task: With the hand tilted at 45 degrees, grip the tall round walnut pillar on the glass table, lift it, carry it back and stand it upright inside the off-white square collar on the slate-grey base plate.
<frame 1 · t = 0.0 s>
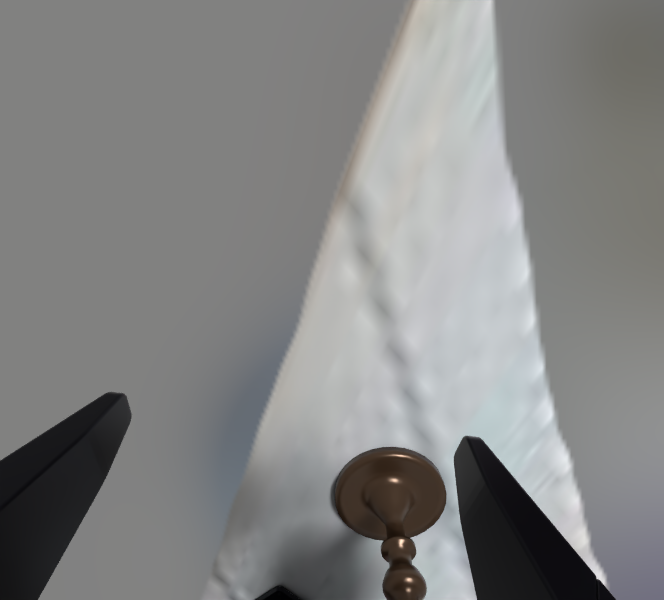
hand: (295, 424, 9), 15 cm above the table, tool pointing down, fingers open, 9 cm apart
candlestick: (388, 489, 30), on the table
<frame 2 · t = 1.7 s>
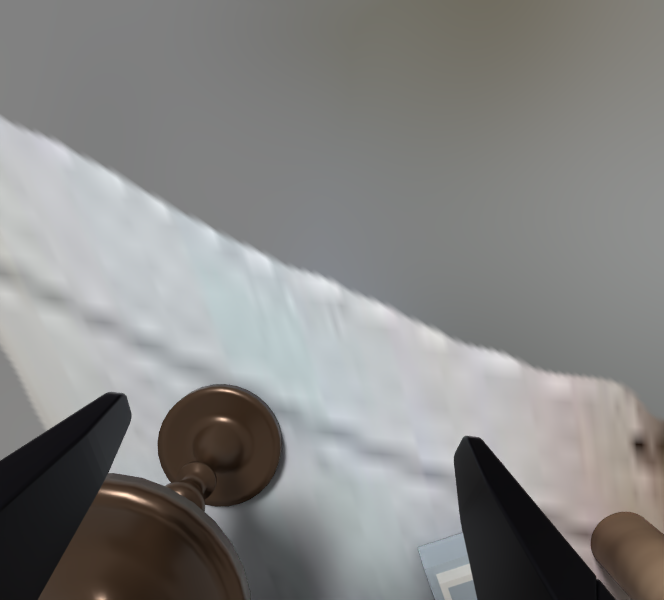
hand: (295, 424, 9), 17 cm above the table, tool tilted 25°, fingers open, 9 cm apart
walnut pillar: (622, 540, 28), on the table
candlestick: (223, 441, 27), on the table
base plate: (495, 581, 29), on the table
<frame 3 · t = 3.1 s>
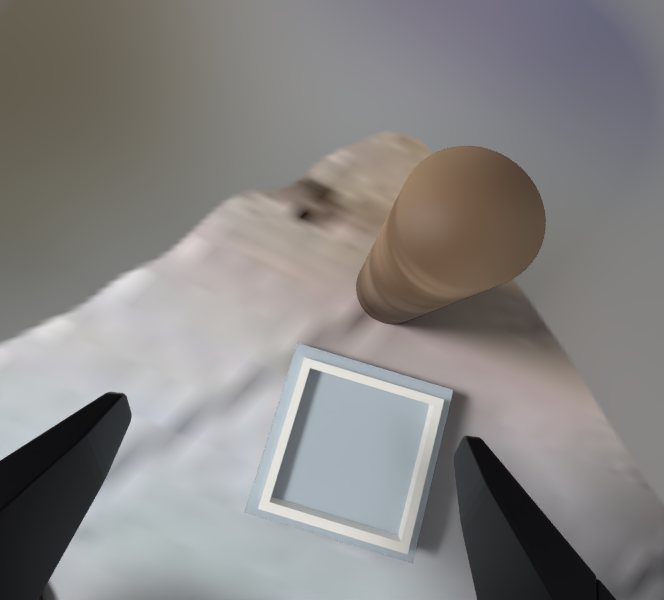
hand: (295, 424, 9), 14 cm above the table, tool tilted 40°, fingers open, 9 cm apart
walnut pillar: (392, 288, 25), on the table
base plate: (349, 440, 23), on the table
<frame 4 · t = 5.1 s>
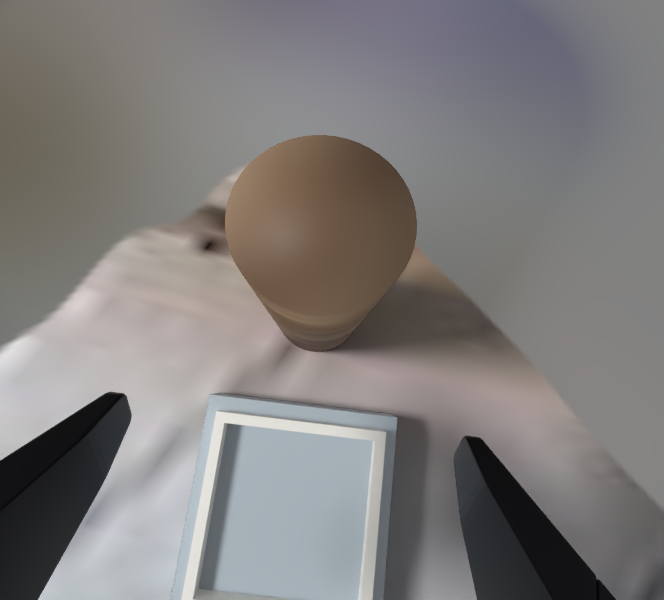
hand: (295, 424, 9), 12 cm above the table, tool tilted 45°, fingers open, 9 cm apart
walnut pillar: (317, 310, 22), on the table
base plate: (292, 496, 20), on the table
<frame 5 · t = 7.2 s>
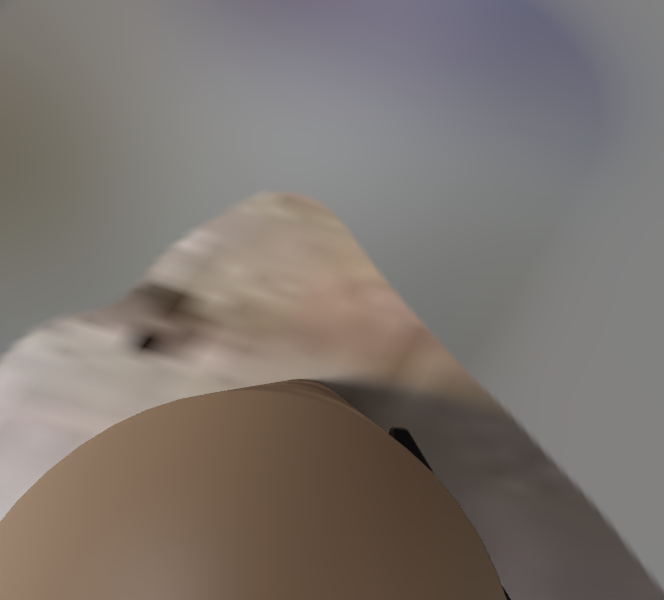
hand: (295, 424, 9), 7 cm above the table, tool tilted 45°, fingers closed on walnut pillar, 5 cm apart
walnut pillar: (298, 437, 16), on the table, touching gripper
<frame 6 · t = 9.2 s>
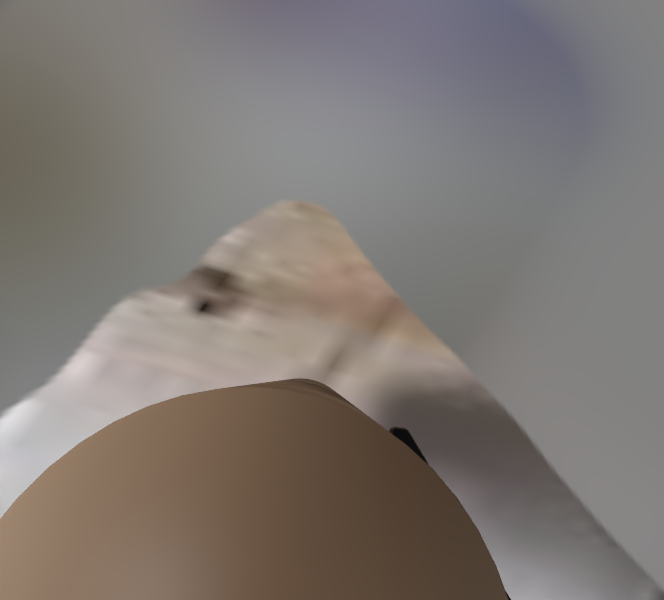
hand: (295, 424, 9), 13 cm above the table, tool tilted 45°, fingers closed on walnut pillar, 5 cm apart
walnut pillar: (298, 436, 16), point 7 cm above the table, touching gripper
when the fingers open (10 cm above the table, at t = 11.2 s): walnut pillar drops 1 cm, resting on base plate.
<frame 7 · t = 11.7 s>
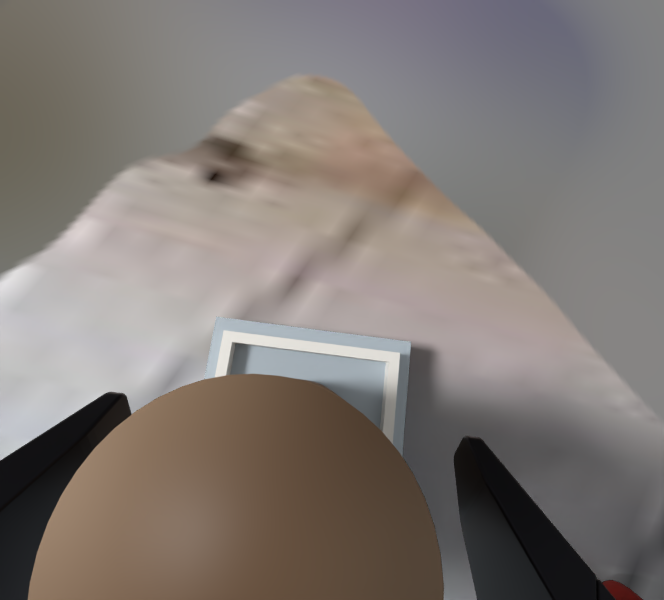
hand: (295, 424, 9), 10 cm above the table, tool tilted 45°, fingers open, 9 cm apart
walnut pillar: (300, 433, 17), point 2 cm above the table, touching base plate
base plate: (301, 426, 19), on the table
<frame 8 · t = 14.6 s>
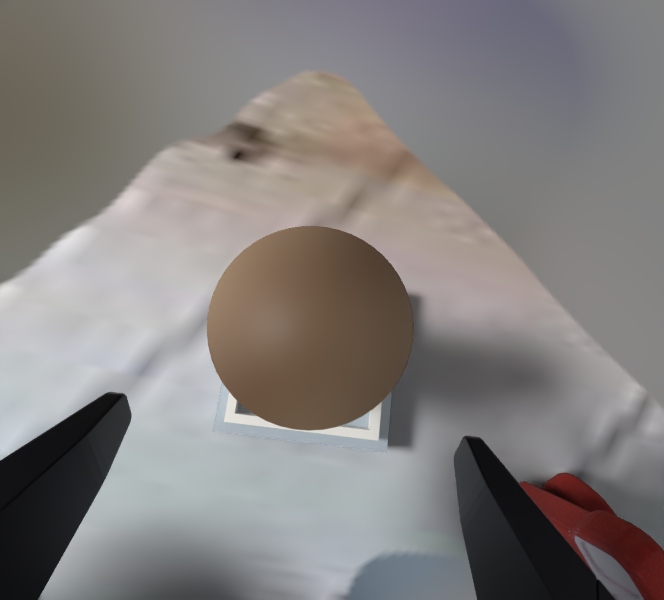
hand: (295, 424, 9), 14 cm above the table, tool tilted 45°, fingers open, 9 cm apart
walnut pillar: (311, 355, 21), point 2 cm above the table, touching base plate
base plate: (312, 356, 23), on the table
toy fire truck: (545, 565, 22), on the table
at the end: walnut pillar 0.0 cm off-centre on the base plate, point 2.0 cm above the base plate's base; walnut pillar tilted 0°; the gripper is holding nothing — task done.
